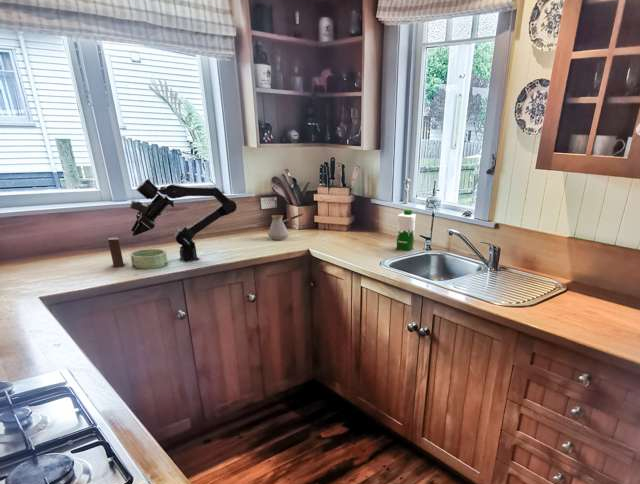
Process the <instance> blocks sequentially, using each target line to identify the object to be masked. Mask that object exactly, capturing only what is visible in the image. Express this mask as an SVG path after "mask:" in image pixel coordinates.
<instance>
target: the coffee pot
mask: <svg viewBox="0 0 640 484" xmlns="http://www.w3.org/2000/svg"><path fill="white" fill-rule="evenodd" d="M283 217H284V215H282V214H273V215H271V218H272V221H271V224H270V227H269V230H268V232H267V236H268V237H269V238H270V239H271V240H273V241H284V240H286V239H287V238H288V237H289V234H290V233H289V231H288V229H287V227H286V225H285V222H289V221H291V220H294V219H297V218H299V217H302V218H304V213H300V214H297V215H294V216H291V217H289V218H287V219H283Z"/></svg>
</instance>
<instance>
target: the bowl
mask: <svg viewBox="0 0 640 484" xmlns="http://www.w3.org/2000/svg"><path fill="white" fill-rule="evenodd" d="M129 257H130V262H131V264H132V265H134V267H135V268H137V269H143V270H144V269H145V270H150V269H158V268H161V267H164V266H165V265H166V263H167V262H168V254H167V251H166V249H165V250H164V249H161V248H146V249H145V248H144V249H143V248H142V249H138V250H133V251H131V252H130V253H129Z"/></svg>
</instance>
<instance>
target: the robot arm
mask: <svg viewBox="0 0 640 484" xmlns="http://www.w3.org/2000/svg"><path fill="white" fill-rule="evenodd" d="M136 191H137V192H138V193H139V194H140V195H142V196H143V197H144V198H145V199H146V200H152V201H151V202H149V203H146V204H144V203H142V201H138V200H134V199H132V200H131V203H130V205H129V207H130V209H132V210H136V213H135V217H136V220H135V222H134V224H133V225H132V228H131V229H130V231H131V232H132V236H133V237H137V236H138V235H141V234H143V233H146V232H148V231H151V230H153V229H154V228H155V227H156V226H155V222H156V219H158V217H160V216H161V215H162V213H163V212H164V211H165V210H166V209H167V207H168V206H171V207H172V208H175V204H174V202H175V201H174V200H173V199H179V198H184V197H214V198H215V199H216V200H217V201H218V202H219V203H218V205H217V206H216V207H215V208H214V209H212V210H211V211H210V212H208V213H207V214H205V215H204V216H202V217H201V218H200V219H198V220H197V221H195V222H194V223H192V224H191V225H188V226H185V224H183V225H181V226H180V227H179V228H176V231H175V232H174V236H173V237H174V239H175V241H176V243H177V244H179V245H181V246H179V260H181V261H183V262H186V263H187V262H192V261H197V260H199V259H200V258H199V257H198V255H197V248H196V243H195V241H194V240H193V239H194V237H195V236H196V235H197V234H199V232H201V231H203V230H205V228H207V227H208V226H210V225H211V224H213V223H214V222H215V221H217V220H218V219H220V218H221V217H225V216H228V215H230V214H232V213H234V212H236V211H237V207H238V206H237V203H236V202H235V201H234V199H233V200H232V199H231V198H229V197H227V196H226V195H225V194H224V193H223V192H222V191H221V190H220V189H219V188H218V187H216V186H185V185H181V184H176V183H171V182H170V183H166V184H165V186H158V187H157V186H156V185H155V184H154V183H153V182H151V180H150V179H149V178H145V180H144V181H142V183H140V184H139V185H138V186H137V187H136ZM162 195H163V196H162Z"/></svg>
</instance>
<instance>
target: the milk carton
mask: <svg viewBox="0 0 640 484" xmlns="http://www.w3.org/2000/svg"><path fill="white" fill-rule="evenodd" d="M416 216H417V214H416V213H415V214H414V213H413V210H412V209H404V210H403V212H402V213H399V214H397V227H396V228H397V229H396V250H401V251H408V252H409V251H410V250H411V249H413V247H414V242H415V229H416Z"/></svg>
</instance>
